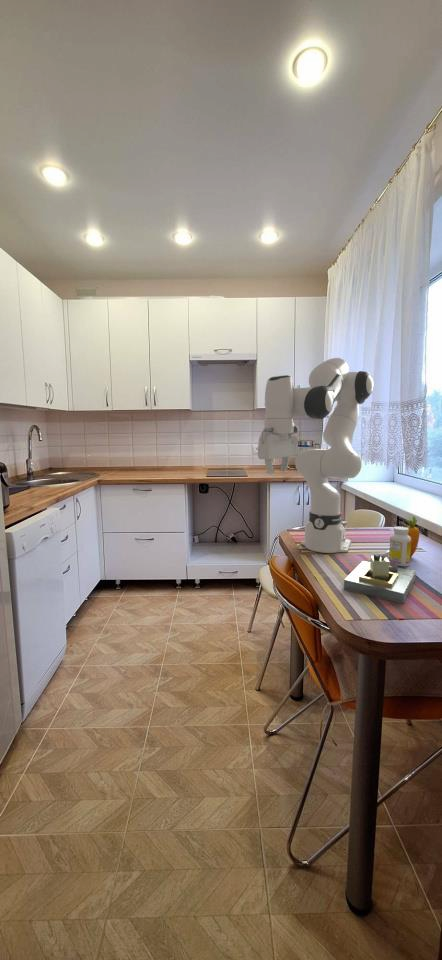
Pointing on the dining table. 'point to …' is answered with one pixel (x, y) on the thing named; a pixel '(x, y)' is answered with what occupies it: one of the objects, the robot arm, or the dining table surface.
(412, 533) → the carrot
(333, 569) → the dining table surface
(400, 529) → the supplement bottle
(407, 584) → the grey base plate
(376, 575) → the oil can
